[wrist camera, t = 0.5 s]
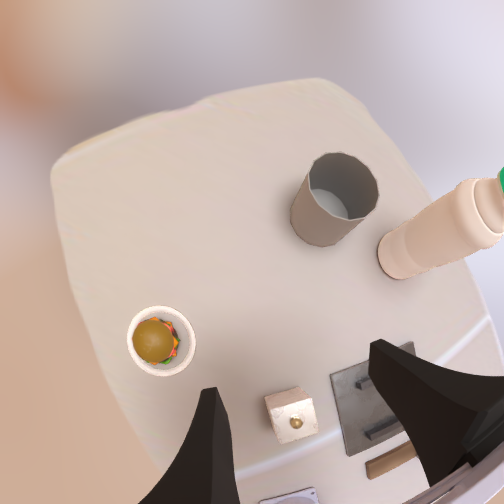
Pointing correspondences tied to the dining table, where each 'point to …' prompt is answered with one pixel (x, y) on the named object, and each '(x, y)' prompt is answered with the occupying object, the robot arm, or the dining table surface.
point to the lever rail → (390, 460)
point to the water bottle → (446, 229)
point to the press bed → (364, 408)
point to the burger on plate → (158, 341)
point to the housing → (291, 415)
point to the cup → (333, 199)
